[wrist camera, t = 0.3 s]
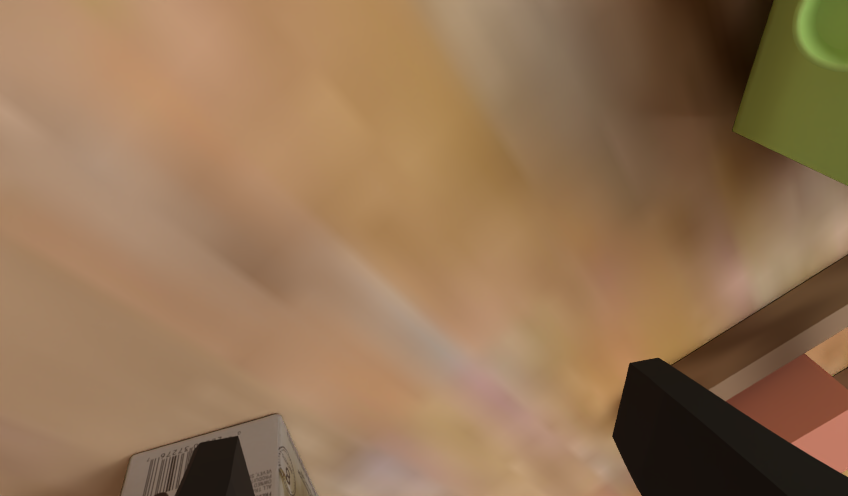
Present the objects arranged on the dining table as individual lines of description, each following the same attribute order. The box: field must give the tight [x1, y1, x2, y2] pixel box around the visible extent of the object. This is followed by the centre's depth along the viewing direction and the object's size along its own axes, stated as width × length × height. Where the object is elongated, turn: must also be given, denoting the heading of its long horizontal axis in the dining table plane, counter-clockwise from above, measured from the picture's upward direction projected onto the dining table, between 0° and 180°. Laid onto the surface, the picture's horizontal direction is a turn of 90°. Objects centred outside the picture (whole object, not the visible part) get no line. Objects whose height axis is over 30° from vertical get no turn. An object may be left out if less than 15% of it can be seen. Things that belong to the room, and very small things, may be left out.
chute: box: [672, 255, 848, 401], centre depth 28 cm, size 12×10×2 cm
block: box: [726, 354, 848, 473], centre depth 27 cm, size 5×5×4 cm
